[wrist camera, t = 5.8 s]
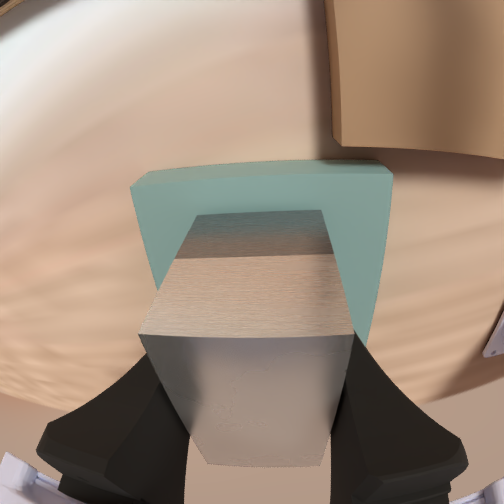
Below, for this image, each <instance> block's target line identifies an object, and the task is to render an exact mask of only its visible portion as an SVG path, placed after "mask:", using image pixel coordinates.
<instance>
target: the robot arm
mask: <svg viewBox="0 0 504 504" xmlns="http://www.w3.org/2000/svg"><path fill="white" fill-rule="evenodd" d="M503 353H504V311H503V313H502V316H501V318H500V320H499V322H498V324H497V326H496V328H495V330H494V332H493V334H492V336H491V338H490V339H489V341H488V343H487V345H486V347H485V349H484V351H483V353H482V354H483V356H484V357H485V358H488V357H492V356H496V355H500V354H503ZM330 434H331V496H330V504H504V477H502V478H500V479H498V480H496V481H495V482H493V483H491V484H489V485H488V486H486V487H485V488H484V489H482V490H480V491H478V492H475V493H473V494H470V495H468V496H465V497H462V498H460V499H457V500H454V501H451V502H449V498H448V493H449V492H450V491H451V486H450V481H452V480H453V479H454V478H456V477H457V476H458V475H460V474H461V473H462V472H463V471H464V470H466V468H467V466H468V459H467V455H466V452H465V449H464V446H463V444H462V442H461V439H460V438H458V437H457V436H455V435H454V434H452V433H451V432H449V431H448V430H446V429H445V428H443V427H442V426H441V425H439V424H438V423H437V422H435V421H434V420H433V419H431V418H430V417H429V416H428V415H426V414H425V413H424V412H423V411H422V410H421V409H420V408H418V407H417V406H416V405H415V404H414V403H413V402H412V401H411V400H410V399H409V398H408V397H407V396H406V395H405V394H404V393H403V392H402V391H401V390H400V389H399V388H398V387H397V386H396V385H395V384H394V383H393V382H392V381H391V379H390V378H389V377H388V376H387V375H386V374H385V372H384V371H383V370H382V369H381V367H380V366H379V365H378V364H377V362H376V361H375V360H374V358H373V357H372V356H371V354H370V353H369V351H368V350H367V348H366V347H365V346H364V344H363V343H362V341H361V340H360V338H359V337H358V335H357V333H356V332H355V330H354V339H353V344H352V349H351V354H350V358H349V363H348V367H347V372H346V376H345V380H344V384H343V388H342V392H341V396H340V400H339V404H338V407H337V411H336V415H335V418H334V422H333V425H332V429H331V432H330ZM189 439H190V434H189V432H188V431H187V429H186V427H185V426H184V424H183V422H182V420H181V419H180V417H179V415H178V413H177V411H176V410H175V408H174V406H173V404H172V402H171V400H170V399H169V397H168V395H167V393H166V391H165V389H164V387H163V385H162V383H161V381H160V379H159V377H158V375H157V373H156V371H155V369H154V367H153V365H152V363H151V361H150V359H149V357H148V355H147V353H146V354H145V355H144V356H143V357H142V358H141V359H140V360H139V361H138V362H137V363H136V364H135V365H134V366H133V367H132V368H131V369H130V370H129V371H128V372H127V373H126V374H125V375H124V376H123V377H121V378H120V379H119V380H118V381H117V382H116V383H114V384H113V385H112V386H110V387H109V388H108V389H106V390H105V391H104V392H102V393H101V394H99V395H98V396H97V397H95V398H94V399H92V400H91V401H89V402H88V403H86V404H84V405H83V406H81V407H79V408H78V409H76V410H74V411H72V412H70V413H68V414H66V415H64V416H62V417H60V418H58V419H56V420H54V421H52V422H49V423H48V424H47V427H46V429H45V431H44V433H43V435H42V438H41V440H40V442H39V444H38V446H37V449H36V452H37V454H38V456H39V457H41V458H42V459H43V460H44V461H46V462H47V463H48V464H49V465H51V466H52V467H54V468H55V469H56V470H58V471H59V472H61V473H62V474H63V475H62V478H61V481H57V480H55V479H53V478H51V477H49V476H47V475H45V474H43V473H40V472H39V471H37V469H35V468H34V467H33V466H31V465H30V464H28V463H26V462H25V461H23V460H21V459H20V458H18V457H16V456H14V455H13V454H11V453H9V452H6V453H5V456H4V458H3V460H2V462H1V465H0V504H184V489H185V488H184V487H185V475H186V464H187V454H188V445H189Z"/></svg>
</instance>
